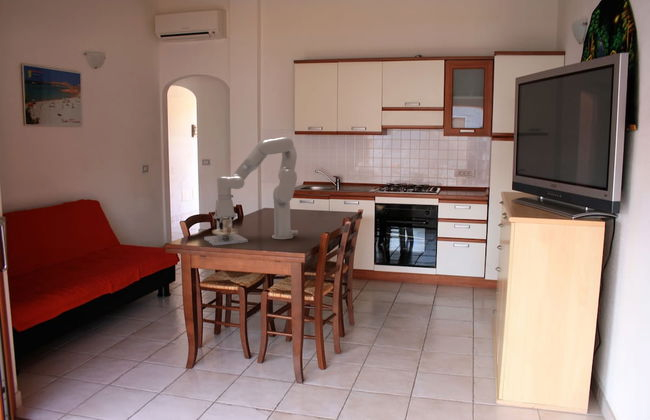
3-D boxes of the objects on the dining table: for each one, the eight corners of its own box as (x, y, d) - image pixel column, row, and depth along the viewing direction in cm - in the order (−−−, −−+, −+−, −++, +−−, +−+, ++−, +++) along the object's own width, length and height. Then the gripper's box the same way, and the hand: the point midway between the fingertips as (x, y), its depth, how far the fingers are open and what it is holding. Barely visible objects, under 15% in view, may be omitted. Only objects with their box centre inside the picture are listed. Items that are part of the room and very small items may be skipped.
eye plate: (236, 236, 340) (236, 233, 340) (247, 242, 323) (247, 239, 323) (204, 239, 331) (204, 236, 331) (213, 245, 314) (213, 242, 314)
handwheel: (233, 234, 337) (233, 216, 335) (242, 238, 324) (241, 219, 322) (209, 236, 330) (208, 217, 328) (216, 241, 317) (216, 221, 315)
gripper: (236, 196, 331) (237, 226, 333) (208, 197, 323) (209, 228, 326) (240, 197, 324) (241, 228, 327) (212, 199, 316) (213, 231, 319)
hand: (225, 228), depth 326 cm, fingers closed on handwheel, 4 cm apart
